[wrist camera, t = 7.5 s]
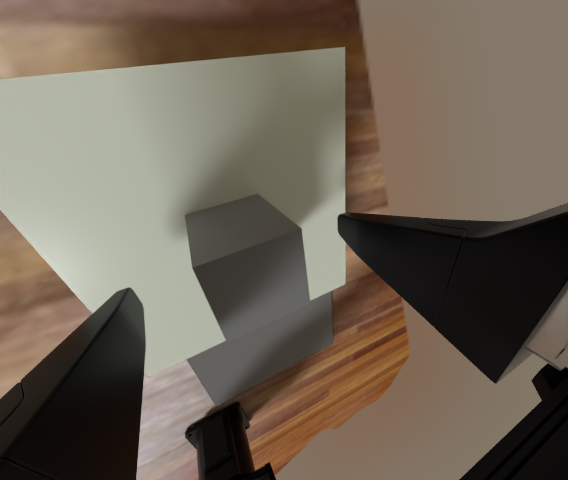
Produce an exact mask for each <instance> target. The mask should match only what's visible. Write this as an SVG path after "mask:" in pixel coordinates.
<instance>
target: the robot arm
mask: <svg viewBox="0 0 568 480" xmlns="http://www.w3.org/2000/svg"><path fill="white" fill-rule="evenodd" d="M337 225H338V233H339V235H340V236H341V237H342V239H343V240H344V241H345V242H346V243H347V244H348V245H349V247H350V248H351V249H352V250H353V251H354V252H355V253H356V255H357V256H358V257H359V258H360V259H361V260H363V261H364V262H365V263H366V264H367V265H368V266H369V267H370V268H371V269H372V270H373V271H374V272H375V273H377V274H378V275H379V276H380V277H381V278H382V279H383V280H384V281H385V282H386V283H387V284H388V285H389V286H390V287H392V288H393V289H394V290H395V291H396V292H397V293H398V294H399V295H400V296H401V297H402V298H403V299H404V300H405V301H407V302H408V303H409V304H410V305H411V306H412V307H413V308H414V309H415V310H416V311H417V312H418V313H419V314H420V315H422V316H423V317H424V318H425V319H426V320H427V321H428V322H429V323H430V324H431V325H432V326H434V327H435V329H436V330H438V332H440V333H441V334H442V335H443V336H444V337H445V338H446V339H447V340H448V341H449V342H450V343H451V344H452V345H454V346H455V347H456V348H457V349H458V350H459V351H460V352H461V353H462V354H463V355H464V356H465V357H466V358H467V359H468V360H470V361H471V362H472V363H473V364H474V365H475V366H476V367H477V368H478V369H479V370H480V371H481V372H482V373H484V374H485V375H486V376H487V377H488V378H489V379H490V380H491V381H493V382H494V383H498V382H499V381H500V380H501V379H503V378H504V377H505V376H506V375H507V374H509V373H510V372H511V371H512V370H513V369H515V368H516V367H517V366H518V365H520V364H521V363H522V362H523V361H524V360H525V359H527V358H528V357H529V356H530V355H532V354H535V355H536V356H538V357H539V358H541V359H543V360H544V361H546V362H547V363H548V364H547V365H545V366H544V367H543V368H542V369H541V370H540V371H539V372H538V373H537V374H536V376H535V377H534V378H533V379H532V382H533V384H534V386H535V388H536V390H537V392H538V394H539V396H540V398H541V399H542V401H541V402H540V403H539V404H538V405H537V406H536V407H535V408H534V409H533V410H532V411H531V412H530V413H529V414H528V415H527V416H525V418H523V419H522V421H520V422H519V423H518V424H517V425H516V426H515V427H514V428H513V429H512V430H511V431H510V432H509V433H508V434H507V435H506V436H505V437H504V438H502V439H501V440H500V441H499V442H498V443H497V444H496V445H495V446H494V447H493V448H492V449H491V450H490V451H489V452H488V453H487V454H486V455H485V456H484V457H483V458H482V459H481V460H479V461H478V462H477V463H476V464H475V465H474V466H473V467H472V468H471V469H470V470H469V471H468V472H467V473H466V474H465V475H464V476H463V477H462V478H461V479H460V480H568V203H567V204H564V205H560V206H558V207H555V208H552V209H549V210H546V211H543V212H540V213H537V214H535V215H532V216H529V217H526V218H523V219H519V220H513V221H503V222H502V221H471V220H447V219H432V218H418V217H404V216H391V215H377V214H363V213H350V212H345V213H342V214H339V215H338V218H337ZM145 352H146V336H145V321H144V308H143V304H142V302H141V301H140V299H139V298H138V296H137V295H136V293H135V292H134V290H133V289H132V288H130V287H128V288H125V289H122V290H119V291H117V292H116V293H114V294H113V295H112V296H111V297H110V298H109V299H108V300H107V301H106V302H105V303H104V304H103V305H102V306H100V307H99V308H98V309H97V310H96V311H95V312H94V313H93V314H92V315H91V316H90V317H89V318H87V319H86V320H85V321H84V322H83V323H82V324H81V325H80V326H79V327H78V328H77V329H76V330H75V331H73V332H72V333H71V334H70V335H69V336H68V337H67V338H66V339H65V340H64V341H63V342H62V343H60V344H59V345H58V346H57V347H56V348H55V349H54V350H53V351H52V352H51V353H50V354H49V355H48V356H46V357H45V358H44V359H43V360H42V361H41V362H40V363H39V364H38V365H37V366H36V367H35V368H33V369H32V370H31V371H30V372H29V373H28V374H27V375H26V376H25V377H24V378H23V379H22V380H21V382H20V383H17V384H16V385H15V386H14V387H13V388H12V389H11V390H10V391H9V392H7V393H6V394H5V395H4V396H3V397H2V398H1V399H0V480H136V473H137V459H138V446H139V432H140V419H141V406H142V392H143V379H144V365H145ZM249 427H250V423H249V421H248V419H247V417H246V415H245V413H244V411H243V409H242V407H241V405H240V403H235V404H233V405H232V406H230V407H228V408H226V409H224V410H223V411H221V412H219V413H217V414H215V415H214V416H212V417H210V418H208V419H206V420H204V421H203V422H201V423H199V424H197V425H195V426H194V427H192V428H190V429H188V430H187V431H186V432H185V437H186V439H187V440H188V441H189V442H190V443H191V444H192V445H193V446H194V447H195V448H196V449H197V460H198V474H199V480H276V479H275V476H274V473H273V470H272V468H271V465H270V462H269V463H267V464H265V466H264V467H262V468H260V469H258V470H256V471H255V468H254V464H253V460H252V455H251V451H250V447H249V443H248V439H247V434H246V430H247V429H248V428H249Z"/></svg>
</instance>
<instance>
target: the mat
mask: <svg viewBox="0 0 568 480" xmlns="http://www.w3.org/2000/svg"><path fill="white" fill-rule="evenodd" d="M332 343H333V327H332V297H331V291H330V292H328V293H325V294H323V295H321V296H319V297H317V298H315V299H313V300H311V301H310V304H308V305H306V306H303V307H301V308H299V309H297V310H295V311H293V312H291V313H289V314H287V315H285V316H283V317H280V318H278V319H276V320H274V321H272V322H270V323H268V324H266V325H264V326H262V327H259V328H257V329H255V330H253V331H251V332H249V333H247V334H245V335H243V336H241V337H239V338H236V339H234V340H232V341H230V342H228V343H227V342H226V341H224V342H222V343H220V344H218V345H216V346H214V347H211V348H209V349H207V350H205V351H203V352H201V353H199V354H197V355H195V356H192V357H190V358H188V359H187V361H188V362H189V364H190V366H191V367H192V369H193V370H194V372H195V373H196V375H197V377H198V378H199V380H200V381H201V383H202V384H203V386H204V388H205V389H206V391H207V392H208V394H209V395H210V397H211V399H212V400H213V402H214V403H215V405H216V406H219V405H220V404H222V403H224V402H226V401H228V400H230V399H231V398H233V397H235V396H237V395H239V394H241V393H242V392H244V391H246V390H248V389H250V388H252V387H253V386H255V385H257V384H259V383H261V382H263V381H264V380H266V379H268V378H270V377H272V376H274V375H275V374H277V373H279V372H281V371H283V370H285V369H286V368H288V367H290V366H292V365H294V364H296V363H297V362H299V361H301V360H303V359H305V358H307V357H308V356H310V355H312V354H314V353H316V352H318V351H319V350H321V349H323V348H325V347H327V346H329V345H330V344H332Z"/></svg>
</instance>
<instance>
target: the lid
mask: <svg viewBox="0 0 568 480" xmlns="http://www.w3.org/2000/svg"><path fill="white" fill-rule="evenodd" d="M0 210H1V211H2V212H3V214H4V215H5V216H6V217H7V218H8V219H9V220H10V221H11V223H12V224H13V225H14V226H15V227H16V228H17V229H18V230H19V232H20V233H21V234H22V235H23V236H24V237H25V238H26V239H27V241H28V242H29V243H30V244H31V245H32V246H33V247H34V248H35V250H36V251H37V252H38V253H39V254H40V255H41V256H42V257H43V259H44V260H45V261H46V262H47V263H48V264H49V265H50V266H51V268H52V269H53V270H54V271H55V272H56V273H57V274H58V275H59V277H60V278H61V279H62V280H63V281H64V282H65V283H66V284H67V286H68V287H69V288H70V289H71V290H72V291H73V292H74V293H75V295H76V296H77V297H78V298H79V299H80V300H81V301H82V302H83V304H84V305H85V306H86V307H87V308H88V309H89V310H90V311H91V313H92V314H93V313H94V312H95V311H96V310H97V309H98V308H99V307H100V306H102V305H103V304H104V303H105V302H106V301H107V300H108V299H109V298H110V297H111V296H112V295H113V294H114V293H116V292H117V291H119V290H122V289H125V288H128V287H130V288H132V289H133V290H134V292H135V293H136V295H137V296H138V298H139V299H140V301H141V302H142V304H143V308H144V321H145V336H146V352H145V365H144V372H145V373H146V374H147V375H148V377H150V376H152V375H154V374H157V373H159V372H161V371H163V370H165V369H167V368H169V367H171V366H173V365H176V364H178V363H180V362H182V361H184V360H186V359H188V358H190V357H192V356H195V355H197V354H199V353H201V352H203V351H205V350H207V349H209V348H211V347H214V346H216V345H218V344H220V343H222V342H224V341H226V342H227V343H228V342H230V341H232V340H234V339H236V338H239V337H241V336H243V335H245V334H247V333H249V332H251V331H253V330H255V329H257V328H259V327H262V326H264V325H266V324H268V323H270V322H272V321H274V320H276V319H278V318H280V317H283V316H285V315H287V314H289V313H291V312H293V311H295V310H297V309H299V308H301V307H303V306H306V305H308V304H310V301H311V300H313V299H315V298H317V297H319V296H321V295H323V294H325V293H328V292H330V291H332V290H334V289H336V288H338V287H340V286H342V285H344V284H345V241H344V240H343V239H342V237H341V236H340V235H339V233H338V225H337V218H338V215H339V214H342V213H345V47H338V48H328V49H317V50H307V51H296V52H285V53H275V54H264V55H254V56H243V57H232V58H222V59H211V60H201V61H190V62H179V63H169V64H158V65H148V66H137V67H126V68H116V69H105V70H95V71H84V72H73V73H63V74H52V75H42V76H31V77H20V78H10V79H0Z"/></svg>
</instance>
